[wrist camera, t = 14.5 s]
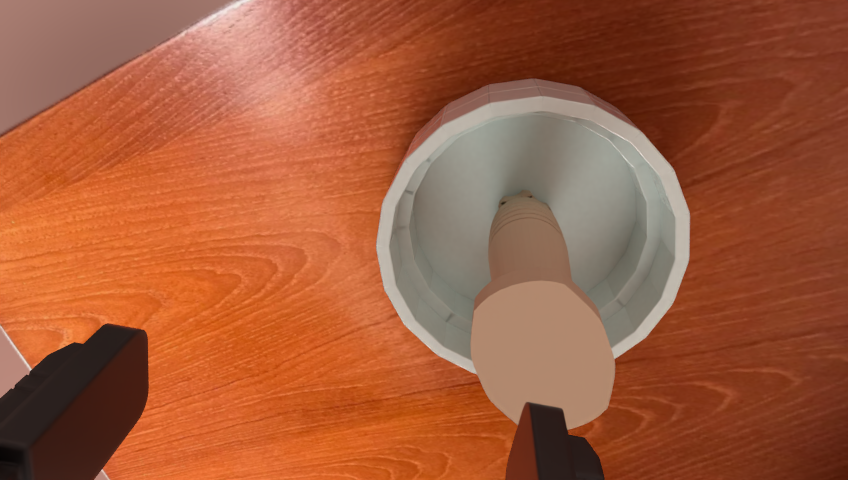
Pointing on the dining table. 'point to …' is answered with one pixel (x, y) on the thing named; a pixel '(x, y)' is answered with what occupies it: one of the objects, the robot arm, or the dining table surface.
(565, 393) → the handle
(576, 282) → the mixing bowl
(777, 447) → the dining table surface
